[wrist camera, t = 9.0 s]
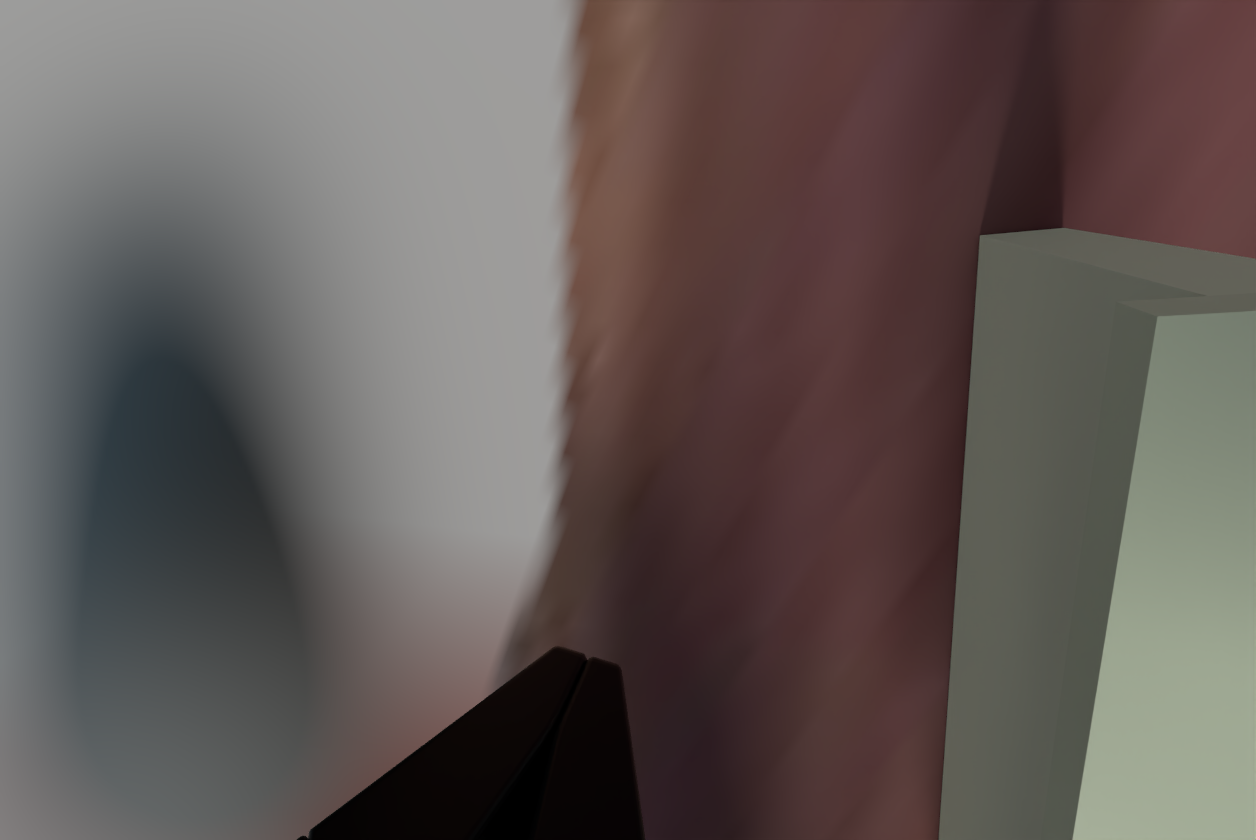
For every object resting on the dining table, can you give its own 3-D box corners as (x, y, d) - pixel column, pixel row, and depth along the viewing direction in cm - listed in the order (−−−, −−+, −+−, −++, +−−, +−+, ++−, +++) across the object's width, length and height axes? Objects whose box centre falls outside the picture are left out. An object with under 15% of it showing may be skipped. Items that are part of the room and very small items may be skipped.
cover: (990, 893, 15) (1134, 1379, 9) (907, 882, 15) (991, 1337, 9) (1064, 227, 10) (1494, 296, 4) (939, 238, 10) (1156, 316, 4)
